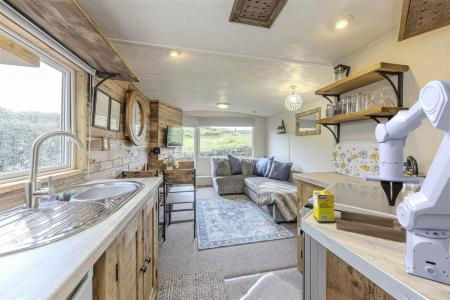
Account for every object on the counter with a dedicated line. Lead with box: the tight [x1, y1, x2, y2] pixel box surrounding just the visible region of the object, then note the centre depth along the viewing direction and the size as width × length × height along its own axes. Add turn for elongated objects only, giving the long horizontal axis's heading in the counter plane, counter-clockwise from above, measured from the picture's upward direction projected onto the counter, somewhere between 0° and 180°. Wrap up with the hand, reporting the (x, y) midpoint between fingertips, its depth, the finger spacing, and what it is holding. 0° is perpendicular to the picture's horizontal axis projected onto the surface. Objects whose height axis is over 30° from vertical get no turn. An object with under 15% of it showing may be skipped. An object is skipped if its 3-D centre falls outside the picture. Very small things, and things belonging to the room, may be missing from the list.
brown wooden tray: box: [335, 210, 402, 243], centre depth 69 cm, size 11×17×3 cm, turn 52°
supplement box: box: [312, 190, 336, 224], centre depth 77 cm, size 6×6×11 cm
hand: (391, 205), depth 62 cm, fingers closed
